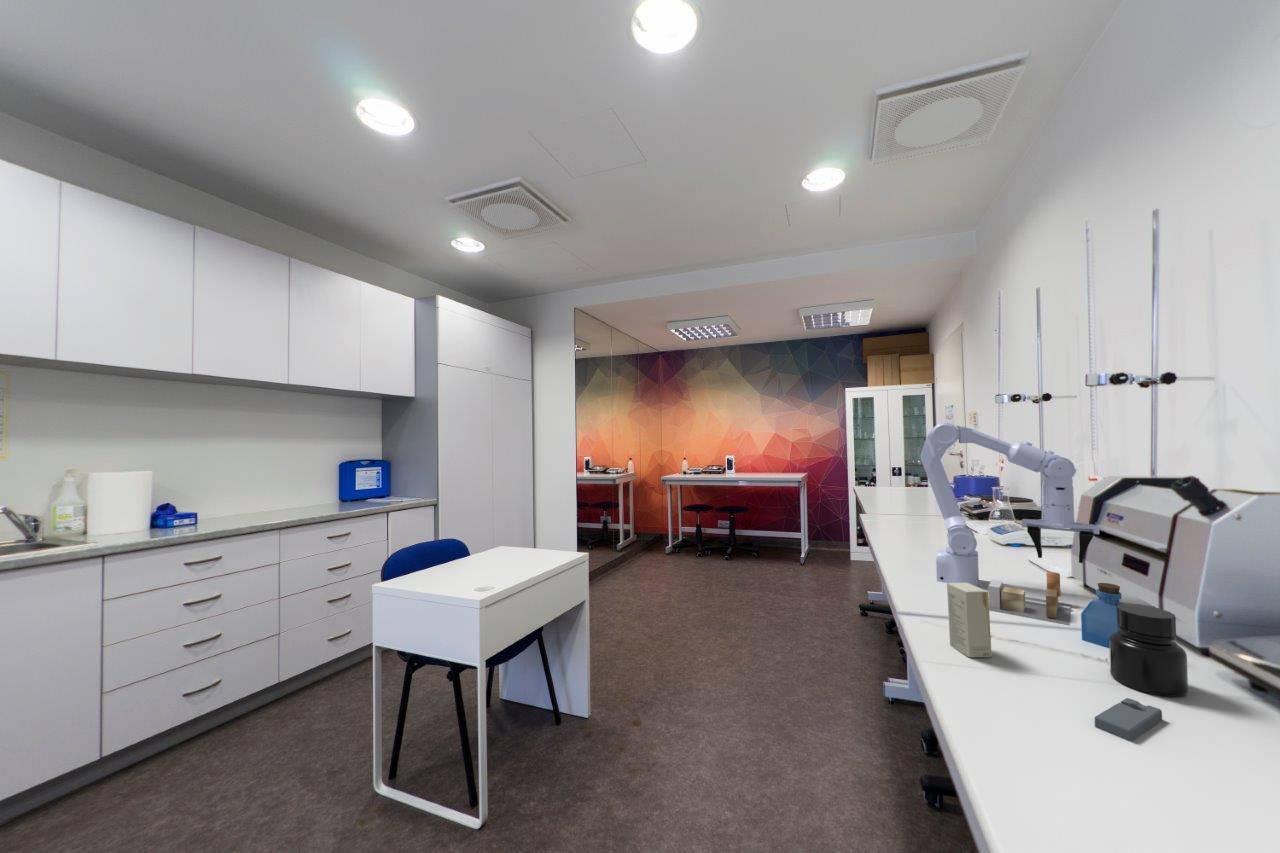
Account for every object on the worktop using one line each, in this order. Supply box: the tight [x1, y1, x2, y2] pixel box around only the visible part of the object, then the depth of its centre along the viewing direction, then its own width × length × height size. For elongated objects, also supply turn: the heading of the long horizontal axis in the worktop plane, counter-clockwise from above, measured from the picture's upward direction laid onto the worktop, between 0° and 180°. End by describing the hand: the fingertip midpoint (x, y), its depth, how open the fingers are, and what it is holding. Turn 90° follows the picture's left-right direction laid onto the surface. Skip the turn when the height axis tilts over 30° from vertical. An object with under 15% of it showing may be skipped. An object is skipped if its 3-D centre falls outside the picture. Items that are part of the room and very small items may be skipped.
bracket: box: [1094, 697, 1163, 742], centre depth 70 cm, size 4×10×2 cm, turn 117°
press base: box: [988, 579, 1072, 627], centre depth 113 cm, size 14×16×6 cm
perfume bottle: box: [1080, 582, 1126, 649], centre depth 94 cm, size 6×6×12 cm
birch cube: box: [1001, 586, 1026, 613], centre depth 113 cm, size 4×4×4 cm
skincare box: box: [946, 583, 993, 658], centre depth 94 cm, size 6×4×12 cm
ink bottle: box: [1108, 603, 1189, 697], centre depth 81 cm, size 10×9×12 cm
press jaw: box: [1045, 571, 1061, 618], centre depth 111 cm, size 2×13×7 cm, turn 138°
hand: (1060, 559), depth 122 cm, fingers open, 7 cm apart
